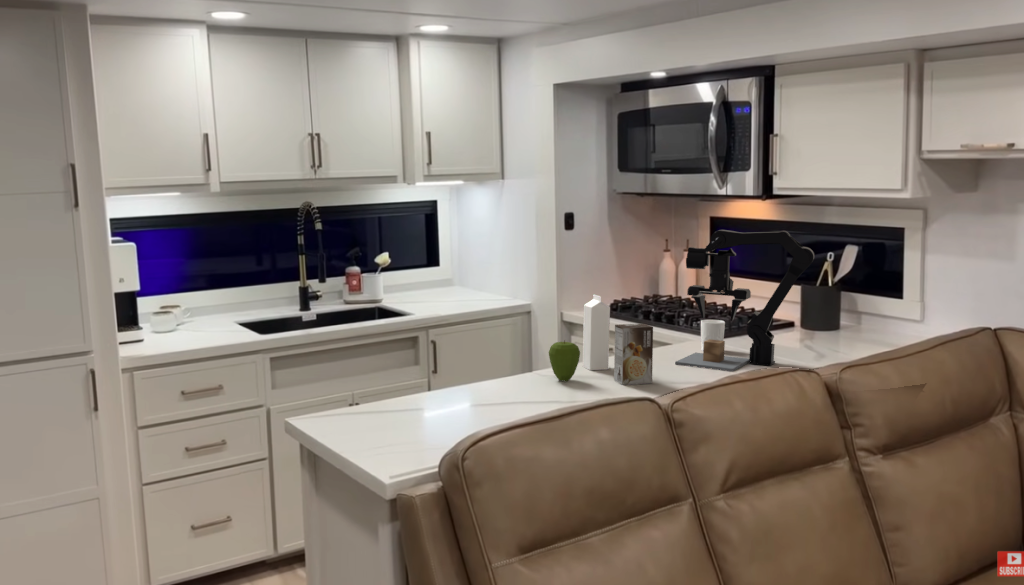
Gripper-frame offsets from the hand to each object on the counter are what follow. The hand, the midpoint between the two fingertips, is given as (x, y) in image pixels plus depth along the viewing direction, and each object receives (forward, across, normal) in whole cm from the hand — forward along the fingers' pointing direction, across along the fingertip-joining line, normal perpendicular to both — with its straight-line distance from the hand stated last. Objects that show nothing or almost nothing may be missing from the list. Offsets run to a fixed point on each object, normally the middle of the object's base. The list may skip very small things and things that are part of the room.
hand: (717, 319), depth 276 cm
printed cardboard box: (+13, +10, +44) cm, 47 cm away
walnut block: (+12, -1, +5) cm, 13 cm away
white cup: (+13, +6, -14) cm, 20 cm away
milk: (+13, +27, +32) cm, 44 cm away
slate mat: (+13, -1, +5) cm, 14 cm away
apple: (+13, +28, +52) cm, 61 cm away
